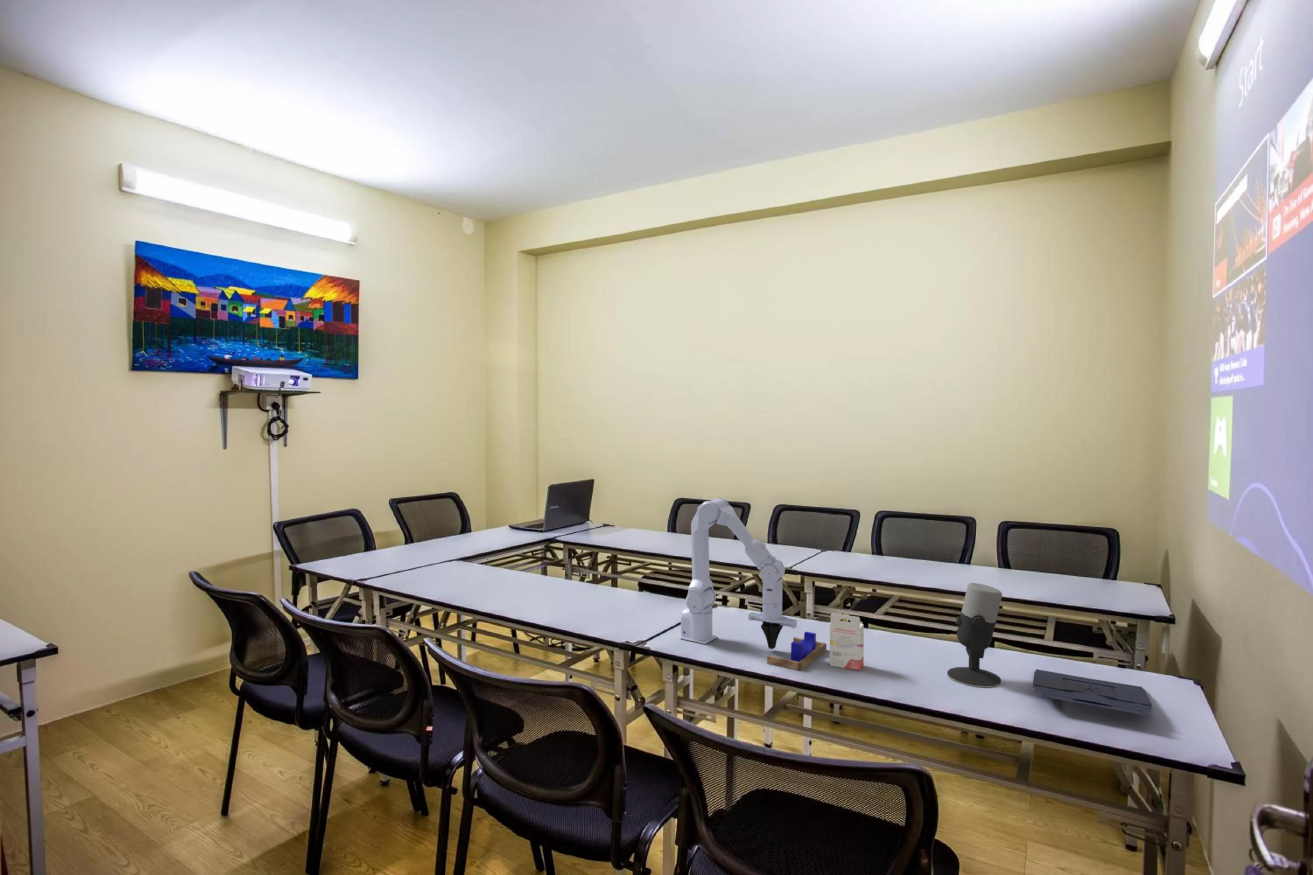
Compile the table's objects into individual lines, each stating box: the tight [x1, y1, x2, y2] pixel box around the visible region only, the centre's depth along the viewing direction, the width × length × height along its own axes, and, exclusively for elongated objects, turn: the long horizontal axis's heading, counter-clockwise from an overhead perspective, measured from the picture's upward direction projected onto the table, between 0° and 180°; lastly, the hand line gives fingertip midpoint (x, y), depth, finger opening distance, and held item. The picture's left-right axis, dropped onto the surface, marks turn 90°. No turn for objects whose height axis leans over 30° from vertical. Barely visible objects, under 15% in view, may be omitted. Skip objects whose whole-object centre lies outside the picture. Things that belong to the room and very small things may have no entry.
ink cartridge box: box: [829, 613, 865, 671], centre depth 191 cm, size 9×5×15 cm, turn 62°
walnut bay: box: [766, 636, 827, 672], centre depth 198 cm, size 10×20×2 cm, turn 147°
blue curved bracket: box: [790, 631, 817, 662], centre depth 197 cm, size 12×4×6 cm, turn 148°
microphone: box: [946, 582, 1003, 688], centre depth 182 cm, size 13×13×25 cm
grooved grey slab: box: [1032, 669, 1154, 716], centre depth 169 cm, size 24×30×4 cm
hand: (771, 647), depth 202 cm, fingers closed
